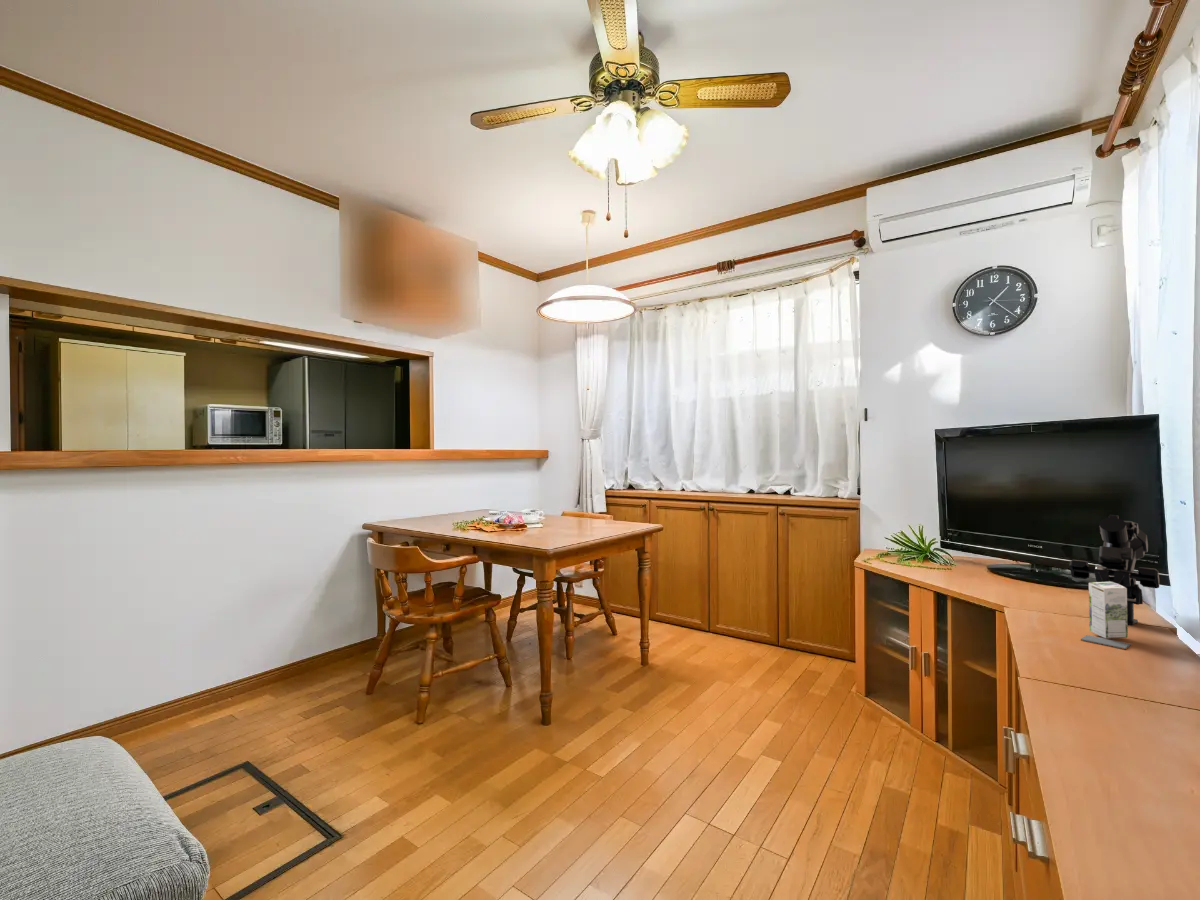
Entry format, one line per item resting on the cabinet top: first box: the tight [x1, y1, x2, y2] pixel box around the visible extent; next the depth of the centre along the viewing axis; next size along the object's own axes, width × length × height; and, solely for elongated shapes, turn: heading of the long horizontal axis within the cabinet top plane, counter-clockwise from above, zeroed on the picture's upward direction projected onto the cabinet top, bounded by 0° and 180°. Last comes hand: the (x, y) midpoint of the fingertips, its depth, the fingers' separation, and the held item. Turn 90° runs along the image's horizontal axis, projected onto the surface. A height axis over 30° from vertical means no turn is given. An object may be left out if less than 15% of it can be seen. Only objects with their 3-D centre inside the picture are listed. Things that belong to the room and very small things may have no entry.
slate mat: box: [1080, 634, 1132, 650], centre depth 148 cm, size 6×9×1 cm, turn 35°
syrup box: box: [1088, 582, 1129, 640], centre depth 152 cm, size 6×6×14 cm
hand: (1109, 596), depth 154 cm, fingers closed, pressing on syrup box
